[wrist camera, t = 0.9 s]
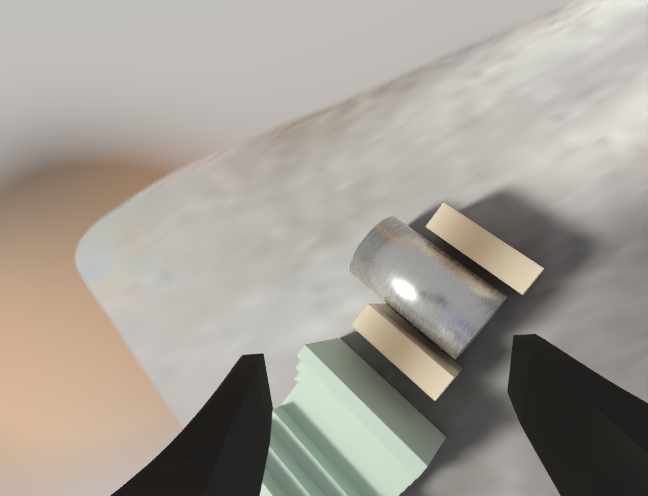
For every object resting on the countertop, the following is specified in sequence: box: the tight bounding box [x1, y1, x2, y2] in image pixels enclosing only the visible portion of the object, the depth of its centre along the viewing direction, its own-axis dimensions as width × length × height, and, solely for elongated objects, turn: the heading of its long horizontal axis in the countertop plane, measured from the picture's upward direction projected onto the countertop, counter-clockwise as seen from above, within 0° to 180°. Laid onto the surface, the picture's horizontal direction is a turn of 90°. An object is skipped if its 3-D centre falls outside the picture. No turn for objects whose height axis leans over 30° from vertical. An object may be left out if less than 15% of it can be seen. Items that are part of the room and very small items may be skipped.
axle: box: [350, 216, 507, 360], centre depth 23 cm, size 7×4×4 cm, turn 51°
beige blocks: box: [352, 202, 544, 401], centre depth 22 cm, size 6×8×3 cm
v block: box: [260, 338, 446, 496], centre depth 23 cm, size 8×8×4 cm
